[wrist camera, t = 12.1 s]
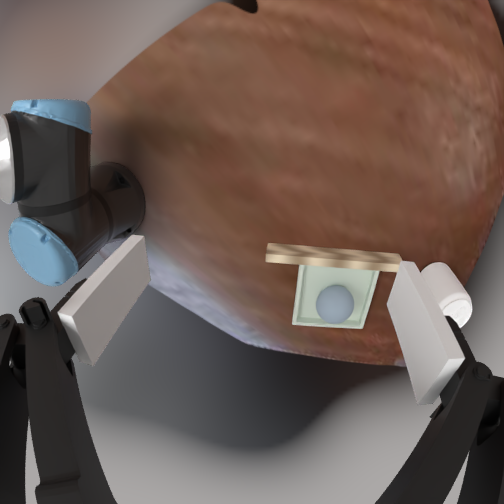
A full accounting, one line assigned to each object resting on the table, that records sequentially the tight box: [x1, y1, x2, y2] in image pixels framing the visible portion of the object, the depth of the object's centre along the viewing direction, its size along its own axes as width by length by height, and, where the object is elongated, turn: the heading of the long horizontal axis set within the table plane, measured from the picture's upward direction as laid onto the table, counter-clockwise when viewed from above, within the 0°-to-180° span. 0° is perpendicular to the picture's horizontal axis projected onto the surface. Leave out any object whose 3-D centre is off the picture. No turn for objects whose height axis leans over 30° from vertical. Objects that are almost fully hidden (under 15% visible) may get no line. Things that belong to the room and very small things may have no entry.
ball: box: [316, 285, 354, 324], centre depth 52 cm, size 7×7×7 cm
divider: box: [266, 243, 402, 272], centre depth 50 cm, size 24×2×4 cm, turn 89°
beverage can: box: [421, 262, 472, 328], centre depth 46 cm, size 8×8×12 cm
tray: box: [292, 265, 379, 329], centre depth 55 cm, size 14×14×2 cm
